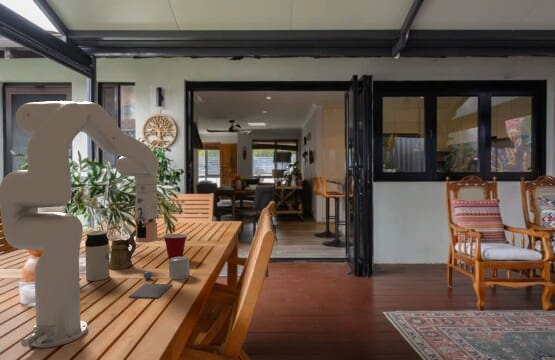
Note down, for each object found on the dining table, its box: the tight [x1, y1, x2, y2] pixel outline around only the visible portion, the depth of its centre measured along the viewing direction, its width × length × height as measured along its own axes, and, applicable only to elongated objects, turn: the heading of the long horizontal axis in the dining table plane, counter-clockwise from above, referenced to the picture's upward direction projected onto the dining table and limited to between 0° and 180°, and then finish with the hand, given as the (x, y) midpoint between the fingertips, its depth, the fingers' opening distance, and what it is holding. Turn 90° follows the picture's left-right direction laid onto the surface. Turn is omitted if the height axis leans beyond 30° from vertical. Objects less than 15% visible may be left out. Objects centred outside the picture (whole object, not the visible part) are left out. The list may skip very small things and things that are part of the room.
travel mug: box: [84, 229, 110, 282], centre depth 130 cm, size 8×8×18 cm
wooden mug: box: [109, 228, 137, 271], centre depth 145 cm, size 9×14×18 cm, turn 92°
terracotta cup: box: [135, 220, 158, 244], centre depth 128 cm, size 7×7×7 cm
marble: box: [143, 270, 153, 280], centre depth 129 cm, size 3×3×3 cm
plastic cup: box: [162, 233, 188, 262], centre depth 154 cm, size 11×11×12 cm
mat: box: [128, 283, 173, 299], centre depth 116 cm, size 12×10×1 cm
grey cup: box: [168, 255, 191, 280], centre depth 132 cm, size 7×7×7 cm
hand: (146, 235), depth 128 cm, fingers closed on terracotta cup, 7 cm apart
